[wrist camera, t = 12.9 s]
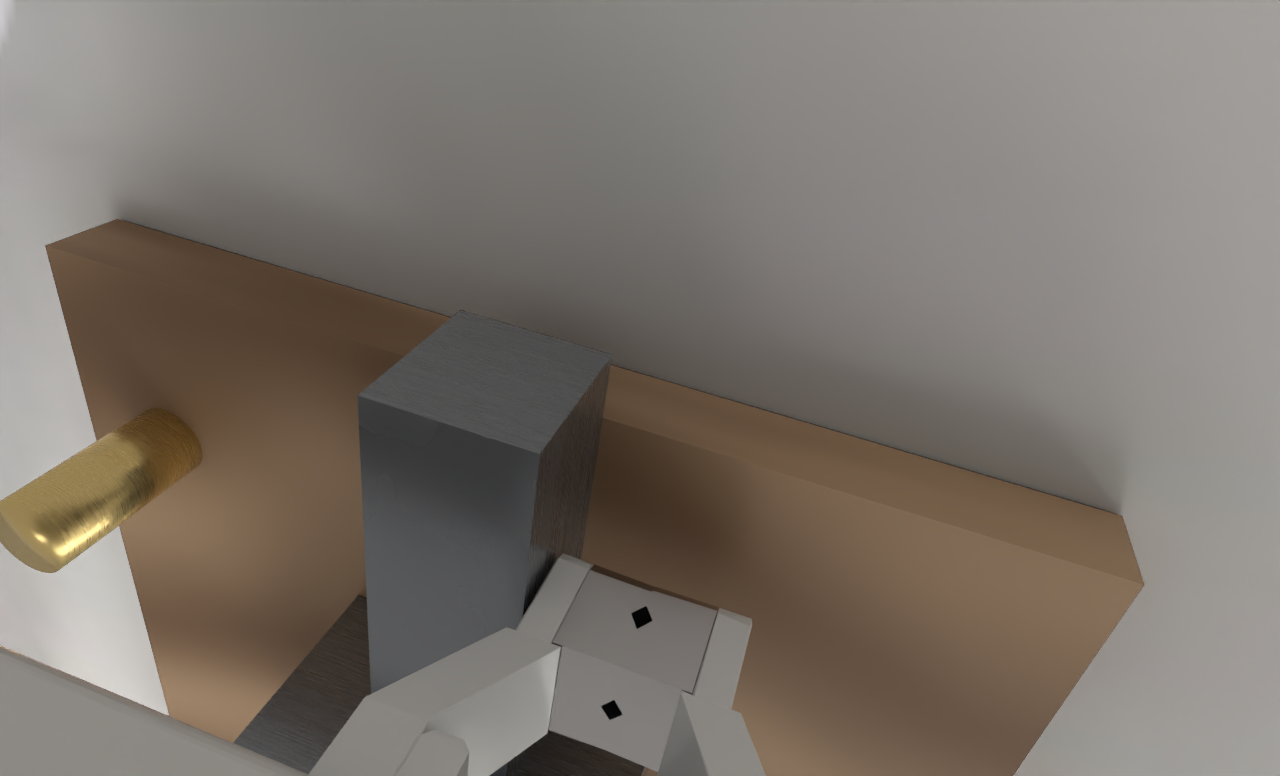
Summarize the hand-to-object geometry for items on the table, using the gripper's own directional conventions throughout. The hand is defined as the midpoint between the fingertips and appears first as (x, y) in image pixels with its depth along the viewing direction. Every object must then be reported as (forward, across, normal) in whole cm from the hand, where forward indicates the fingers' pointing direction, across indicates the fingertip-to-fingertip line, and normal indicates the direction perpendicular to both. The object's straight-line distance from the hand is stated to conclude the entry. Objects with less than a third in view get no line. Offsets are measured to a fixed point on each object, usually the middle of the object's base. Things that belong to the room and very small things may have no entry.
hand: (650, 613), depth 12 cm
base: (+3, +3, +7) cm, 8 cm away
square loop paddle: (+1, +3, +3) cm, 4 cm away
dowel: (+3, +10, +1) cm, 10 cm away
